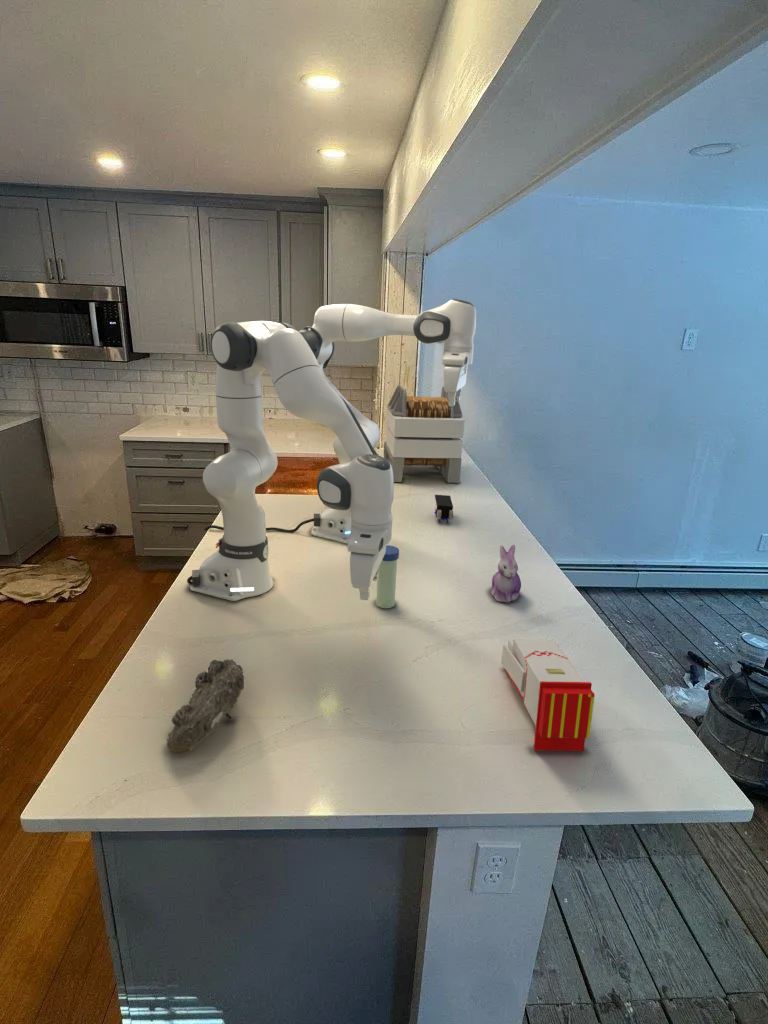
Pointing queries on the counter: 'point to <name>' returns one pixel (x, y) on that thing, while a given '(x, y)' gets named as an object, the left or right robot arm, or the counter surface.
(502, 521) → the counter surface
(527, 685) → the toy
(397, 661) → the counter surface
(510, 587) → the figurine
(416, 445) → the transformer
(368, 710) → the counter surface
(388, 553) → the lid
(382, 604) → the jar
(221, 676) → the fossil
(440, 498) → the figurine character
